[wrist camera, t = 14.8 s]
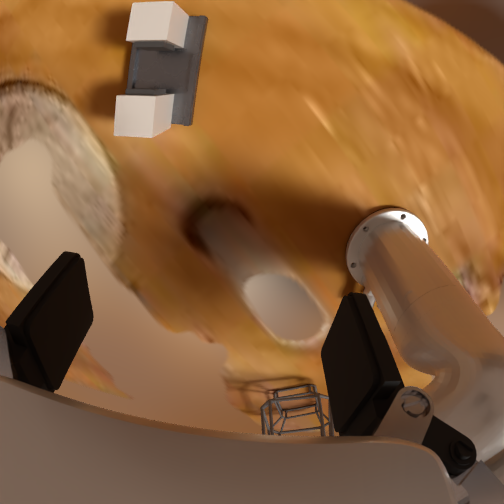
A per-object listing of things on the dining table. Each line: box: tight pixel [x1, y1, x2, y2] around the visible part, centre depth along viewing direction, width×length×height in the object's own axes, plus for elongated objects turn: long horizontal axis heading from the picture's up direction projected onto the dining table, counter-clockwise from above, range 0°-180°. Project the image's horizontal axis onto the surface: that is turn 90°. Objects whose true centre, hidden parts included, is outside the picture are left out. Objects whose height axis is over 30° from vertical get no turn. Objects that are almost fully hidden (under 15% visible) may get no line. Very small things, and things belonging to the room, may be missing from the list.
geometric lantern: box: [261, 384, 334, 436], centre depth 44 cm, size 16×16×35 cm
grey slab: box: [127, 16, 208, 126], centre depth 30 cm, size 13×8×2 cm, turn 171°
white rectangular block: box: [114, 88, 174, 138], centre depth 29 cm, size 5×4×7 cm
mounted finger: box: [126, 1, 189, 51], centre depth 24 cm, size 5×4×7 cm
